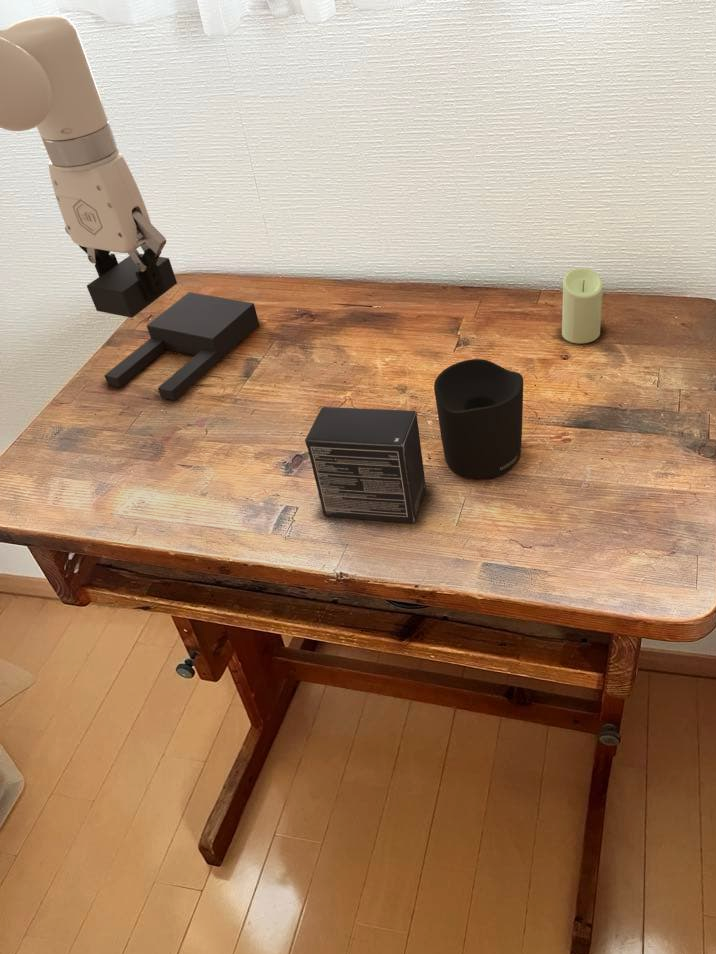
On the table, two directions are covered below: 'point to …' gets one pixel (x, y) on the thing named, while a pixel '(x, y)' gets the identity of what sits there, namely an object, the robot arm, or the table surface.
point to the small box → (367, 463)
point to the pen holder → (480, 418)
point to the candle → (581, 305)
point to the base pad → (190, 339)
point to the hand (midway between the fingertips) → (135, 290)
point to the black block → (126, 288)
